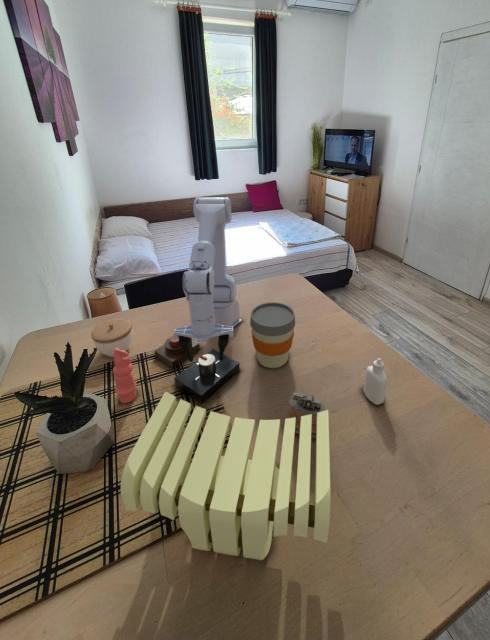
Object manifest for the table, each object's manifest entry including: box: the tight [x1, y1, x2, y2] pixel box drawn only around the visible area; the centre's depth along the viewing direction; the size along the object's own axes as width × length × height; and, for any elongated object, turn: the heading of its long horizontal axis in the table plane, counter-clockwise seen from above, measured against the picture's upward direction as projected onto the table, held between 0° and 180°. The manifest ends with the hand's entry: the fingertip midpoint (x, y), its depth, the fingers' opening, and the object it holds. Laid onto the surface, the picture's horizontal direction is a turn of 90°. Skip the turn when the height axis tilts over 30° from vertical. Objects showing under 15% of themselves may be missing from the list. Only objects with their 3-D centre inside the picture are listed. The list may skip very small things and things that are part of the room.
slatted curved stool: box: [120, 391, 331, 561], centre depth 55 cm, size 30×16×18 cm, turn 82°
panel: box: [173, 348, 241, 406], centre depth 86 cm, size 14×10×3 cm
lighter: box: [288, 392, 327, 439], centre depth 71 cm, size 8×3×10 cm, turn 71°
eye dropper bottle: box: [362, 357, 388, 406], centre depth 79 cm, size 4×6×12 cm
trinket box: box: [90, 318, 134, 358], centre depth 96 cm, size 11×11×9 cm
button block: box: [154, 337, 200, 369], centre depth 96 cm, size 10×8×4 cm
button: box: [169, 334, 179, 347], centre depth 95 cm, size 4×4×2 cm
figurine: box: [112, 348, 138, 404], centre depth 79 cm, size 5×5×15 cm
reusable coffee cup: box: [249, 301, 296, 369], centre depth 92 cm, size 13×13×15 cm
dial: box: [197, 353, 216, 376], centre depth 85 cm, size 4×4×4 cm
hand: (206, 358), depth 84 cm, fingers open, 7 cm apart
